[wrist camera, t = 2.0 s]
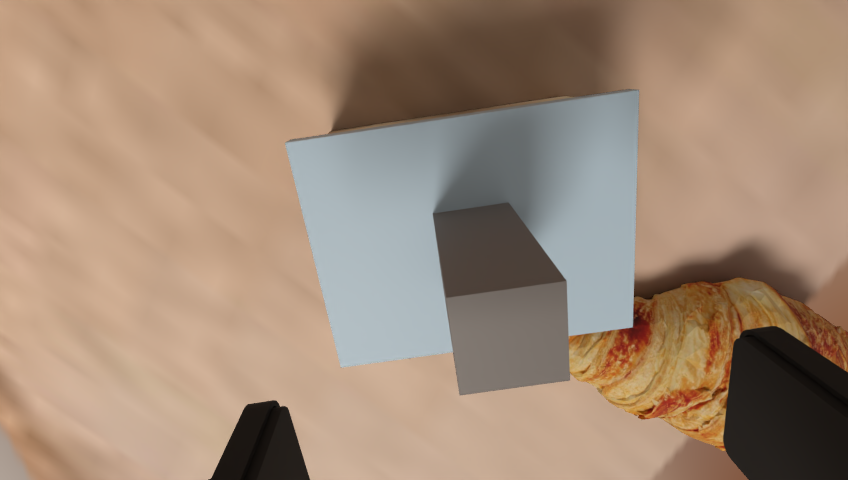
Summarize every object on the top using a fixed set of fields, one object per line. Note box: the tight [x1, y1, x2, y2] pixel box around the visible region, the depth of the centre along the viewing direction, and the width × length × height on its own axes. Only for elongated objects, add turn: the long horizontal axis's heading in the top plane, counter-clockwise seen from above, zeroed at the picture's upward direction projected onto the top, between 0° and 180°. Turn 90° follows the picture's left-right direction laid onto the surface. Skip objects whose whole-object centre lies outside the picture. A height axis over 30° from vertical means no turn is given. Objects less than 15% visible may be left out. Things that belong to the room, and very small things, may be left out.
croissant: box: [569, 277, 848, 451], centre depth 26 cm, size 21×10×8 cm, turn 83°
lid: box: [285, 89, 639, 395], centre depth 15 cm, size 13×10×8 cm
